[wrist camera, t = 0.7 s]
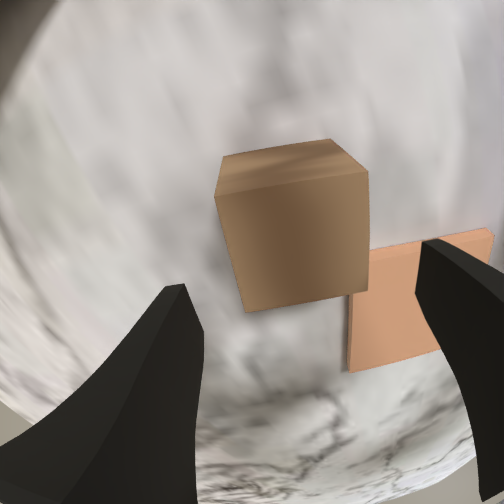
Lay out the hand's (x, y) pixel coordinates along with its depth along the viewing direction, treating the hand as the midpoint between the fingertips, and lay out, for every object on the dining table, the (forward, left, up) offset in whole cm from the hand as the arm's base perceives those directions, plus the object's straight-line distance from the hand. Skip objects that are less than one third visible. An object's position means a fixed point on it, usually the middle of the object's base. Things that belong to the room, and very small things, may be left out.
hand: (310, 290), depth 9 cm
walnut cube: (0, 0, -7) cm, 7 cm away
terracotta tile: (-8, +9, -7) cm, 14 cm away
